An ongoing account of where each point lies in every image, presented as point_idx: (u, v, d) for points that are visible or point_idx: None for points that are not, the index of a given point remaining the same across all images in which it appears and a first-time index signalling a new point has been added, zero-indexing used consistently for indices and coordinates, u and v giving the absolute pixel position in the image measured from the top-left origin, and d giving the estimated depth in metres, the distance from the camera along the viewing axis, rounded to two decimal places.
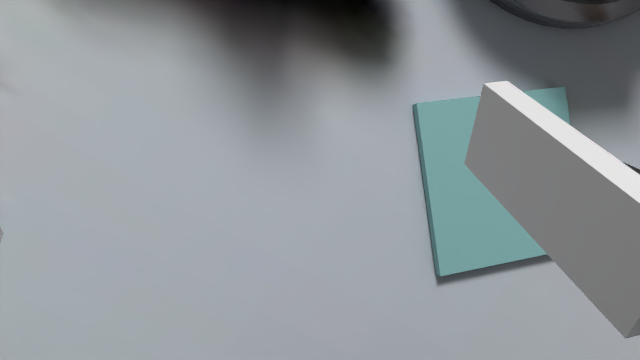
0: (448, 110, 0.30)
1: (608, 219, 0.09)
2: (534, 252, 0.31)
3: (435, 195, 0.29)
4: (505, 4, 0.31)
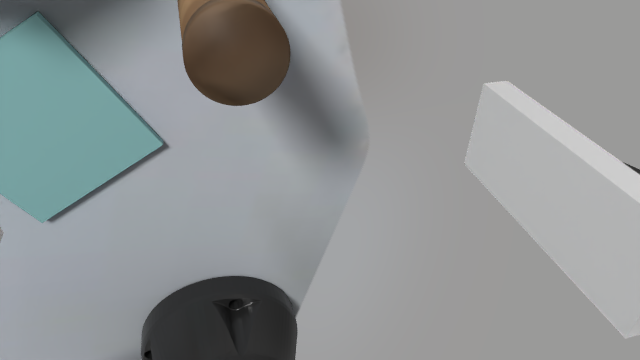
0: None
1: (608, 219, 0.09)
2: (115, 171, 0.34)
3: None
4: None
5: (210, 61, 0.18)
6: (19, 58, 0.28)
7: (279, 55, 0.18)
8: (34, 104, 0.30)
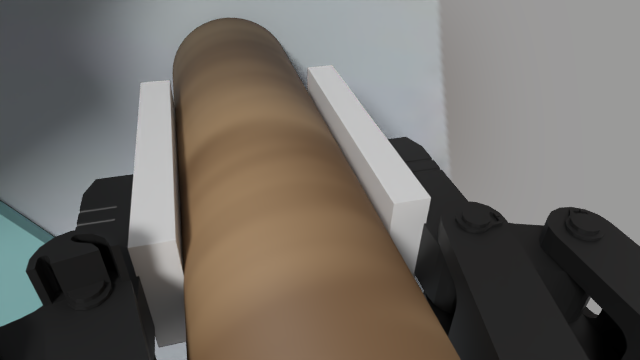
0: None
1: (363, 188, 0.10)
2: None
3: None
4: None
5: None
6: None
7: None
8: None
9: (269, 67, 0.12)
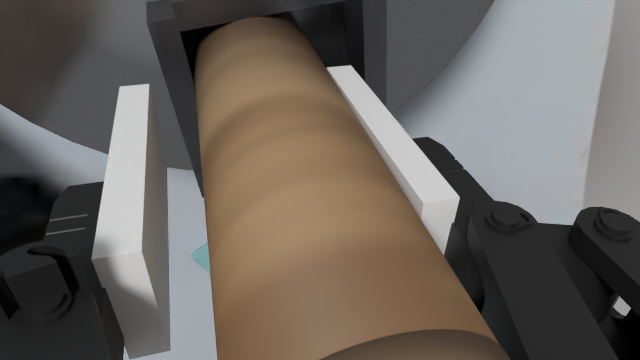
0: None
1: None
2: None
3: None
4: None
5: None
6: None
7: None
8: None
9: (304, 50, 0.12)
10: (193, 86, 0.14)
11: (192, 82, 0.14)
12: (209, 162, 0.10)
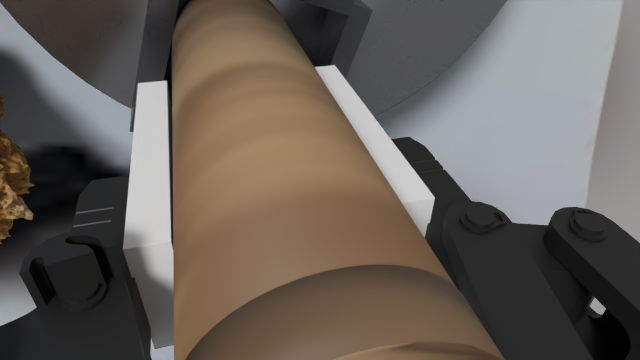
0: None
1: None
2: None
3: None
4: None
5: None
6: None
7: None
8: None
9: (299, 46, 0.13)
10: (173, 20, 0.15)
11: (174, 16, 0.15)
12: (197, 102, 0.09)
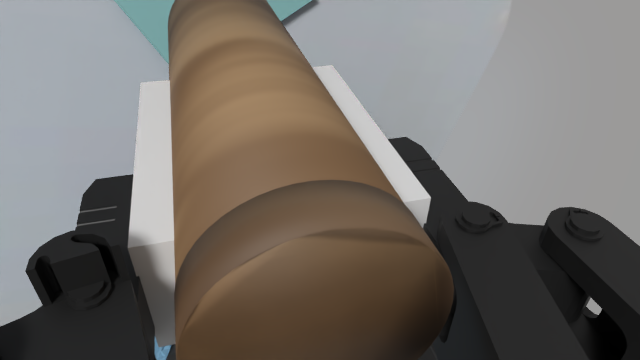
0: None
1: None
2: None
3: (140, 21, 0.30)
4: None
5: (256, 327, 0.06)
6: None
7: (401, 352, 0.07)
8: None
9: (285, 28, 0.14)
10: None
11: None
12: (191, 73, 0.11)
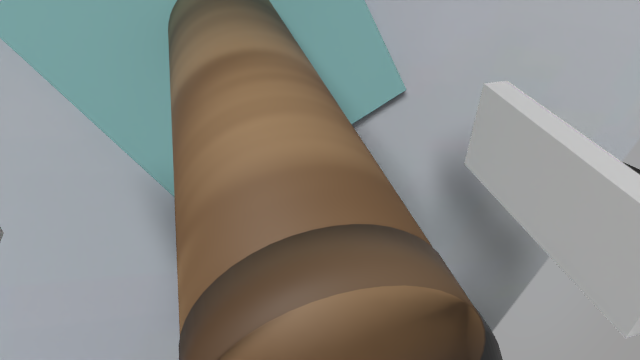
0: None
1: (608, 219, 0.09)
2: None
3: (126, 139, 0.18)
4: None
5: None
6: None
7: None
8: None
9: None
10: None
11: None
12: (194, 88, 0.10)
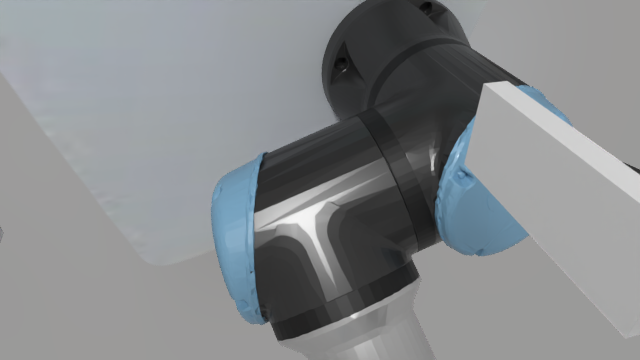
0: None
1: (608, 219, 0.09)
2: None
3: None
4: None
5: None
6: None
7: None
8: None
9: None
10: None
11: None
12: None
